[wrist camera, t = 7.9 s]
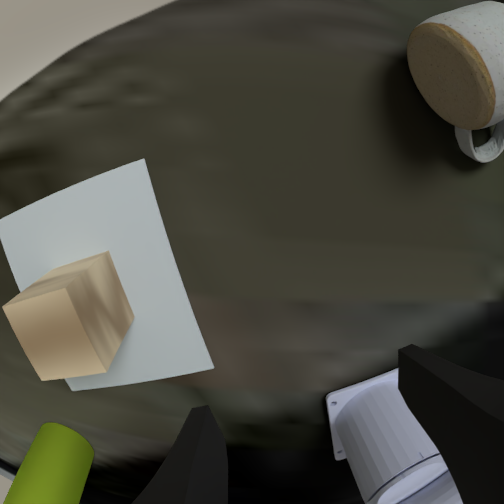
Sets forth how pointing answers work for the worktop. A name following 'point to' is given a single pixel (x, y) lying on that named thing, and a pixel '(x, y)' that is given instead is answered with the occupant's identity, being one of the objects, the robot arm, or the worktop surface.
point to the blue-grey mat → (126, 264)
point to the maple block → (72, 318)
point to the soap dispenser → (52, 468)
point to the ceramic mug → (463, 72)
